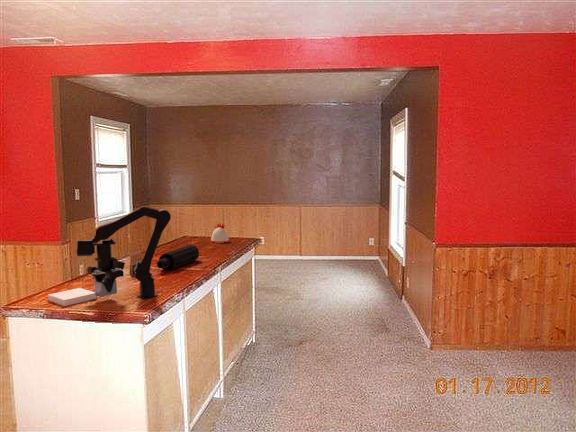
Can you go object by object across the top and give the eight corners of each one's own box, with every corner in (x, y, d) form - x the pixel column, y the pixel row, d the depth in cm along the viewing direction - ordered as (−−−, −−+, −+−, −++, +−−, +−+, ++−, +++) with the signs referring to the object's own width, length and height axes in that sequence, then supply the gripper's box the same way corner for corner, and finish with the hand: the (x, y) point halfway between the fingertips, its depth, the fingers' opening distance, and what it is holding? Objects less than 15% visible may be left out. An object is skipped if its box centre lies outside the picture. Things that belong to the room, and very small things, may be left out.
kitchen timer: (225, 243, 342) (225, 224, 341) (208, 243, 345) (208, 223, 343) (231, 241, 356) (230, 222, 355) (214, 240, 359) (214, 222, 357)
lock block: (116, 293, 192) (116, 279, 191) (101, 297, 186) (100, 282, 186) (110, 291, 195) (109, 278, 194) (95, 295, 189) (94, 281, 189)
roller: (170, 271, 240) (164, 253, 240) (154, 275, 243) (149, 258, 243) (201, 258, 276) (197, 242, 276) (188, 262, 279) (183, 247, 279)
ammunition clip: (140, 270, 249) (139, 249, 248) (143, 270, 249) (142, 249, 248) (129, 275, 239) (128, 252, 237) (133, 275, 238) (132, 252, 237)
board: (96, 298, 194) (96, 292, 194) (64, 306, 183) (64, 300, 183) (80, 293, 202) (79, 287, 202) (48, 300, 191) (47, 294, 191)
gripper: (134, 254, 190) (135, 290, 191) (109, 250, 201) (111, 284, 203) (109, 258, 181) (111, 296, 183) (85, 253, 192) (87, 289, 194)
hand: (106, 291), depth 191 cm, fingers closed on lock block, 5 cm apart
